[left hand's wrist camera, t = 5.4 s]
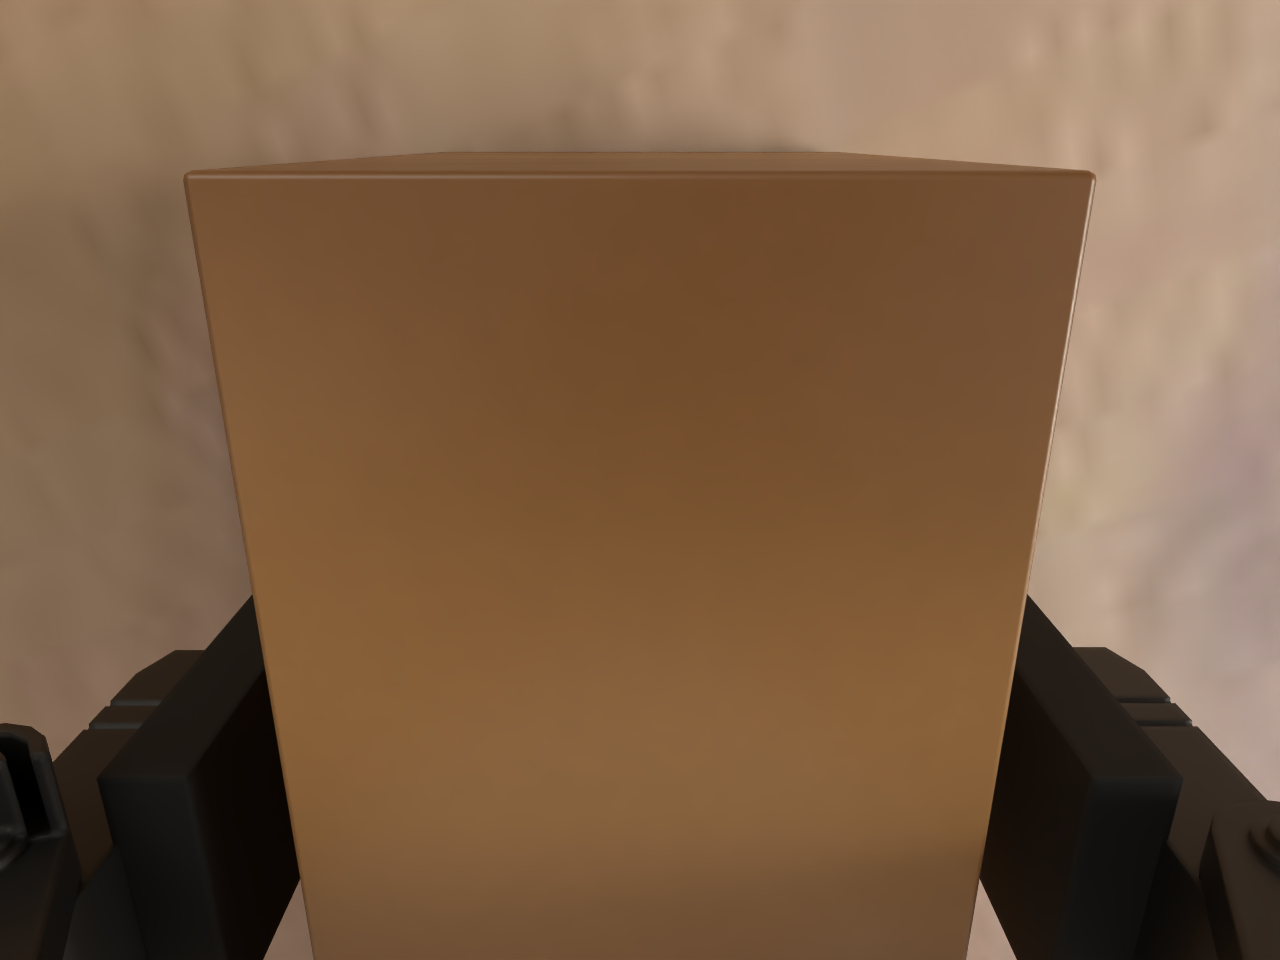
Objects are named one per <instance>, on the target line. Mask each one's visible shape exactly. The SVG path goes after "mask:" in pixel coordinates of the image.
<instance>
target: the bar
mask: <svg viewBox="0 0 1280 960" xmlns="http://www.w3.org/2000/svg"><path fill="white" fill-rule="evenodd" d="M1095 185H1096V176H1095V174H1094V173H1092V172H1090V171H1085V170H1071V169H1058V168H1044V167H1031V166H1017V165H1004V164H990V163H977V162H963V161H950V160H936V159H923V158H909V157H896V156H882V155H868V154H855V153H841V152H439V153H425V154H412V155H398V156H385V157H371V158H357V159H344V160H330V161H317V162H303V163H290V164H276V165H262V166H249V167H235V168H222V169H208V170H195V171H190V172H188V173H186V174H185V175H184V187H185V193H186V199H187V205H188V211H189V217H190V223H191V229H192V235H193V241H194V247H195V253H196V259H197V265H198V271H199V277H200V283H201V289H202V295H203V301H204V307H205V313H206V318H207V324H208V330H209V336H210V342H211V348H212V354H213V360H214V366H215V372H216V378H217V384H218V390H219V396H220V402H221V408H222V414H223V420H224V426H225V432H226V438H227V444H228V450H229V456H230V462H231V468H232V474H233V480H234V486H235V492H236V498H237V503H238V509H239V515H240V521H241V527H242V533H243V539H244V545H245V551H246V557H247V563H248V569H249V575H250V581H251V587H252V593H253V599H254V605H255V611H256V617H257V623H258V629H259V635H260V641H261V647H262V653H263V659H264V665H265V671H266V677H267V683H268V688H269V694H270V700H271V706H272V712H273V718H274V724H275V730H276V736H277V742H278V748H279V754H280V760H281V766H282V772H283V778H284V784H285V790H286V796H287V802H288V808H289V814H290V820H291V826H292V832H293V838H294V844H295V850H296V856H297V862H298V868H299V874H300V879H301V885H302V891H303V897H304V903H305V909H306V915H307V921H308V927H309V933H310V939H311V945H312V951H313V957H314V960H966V956H967V950H968V944H969V938H970V932H971V926H972V920H973V914H974V908H975V902H976V896H977V890H978V884H979V878H980V872H981V866H982V860H983V854H984V848H985V842H986V836H987V830H988V824H989V818H990V812H991V806H992V800H993V794H994V788H995V782H996V776H997V770H998V764H999V758H1000V753H1001V747H1002V741H1003V735H1004V729H1005V723H1006V717H1007V711H1008V705H1009V699H1010V693H1011V687H1012V681H1013V675H1014V669H1015V663H1016V657H1017V651H1018V645H1019V639H1020V633H1021V627H1022V621H1023V615H1024V609H1025V603H1026V597H1027V591H1028V585H1029V579H1030V573H1031V567H1032V561H1033V555H1034V549H1035V543H1036V537H1037V531H1038V526H1039V520H1040V514H1041V508H1042V502H1043V496H1044V490H1045V484H1046V478H1047V472H1048V466H1049V460H1050V454H1051V448H1052V442H1053V436H1054V430H1055V424H1056V418H1057V412H1058V406H1059V400H1060V394H1061V388H1062V382H1063V376H1064V370H1065V364H1066V358H1067V352H1068V346H1069V340H1070V334H1071V328H1072V322H1073V316H1074V310H1075V304H1076V299H1077V293H1078V287H1079V281H1080V275H1081V269H1082V263H1083V257H1084V251H1085V245H1086V239H1087V233H1088V227H1089V221H1090V215H1091V209H1092V203H1093V197H1094V191H1095Z"/></svg>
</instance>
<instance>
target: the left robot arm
mask: <svg viewBox="0 0 1280 960" xmlns="http://www.w3.org/2000/svg"><path fill="white" fill-rule="evenodd" d="M299 880H300V874H299V868H298V862H297V856H296V850H295V844H294V838H293V832H292V826H291V820H290V814H289V808H288V802H287V796H286V790H285V784H284V778H283V772H282V766H281V760H280V754H279V748H278V742H277V736H276V730H275V724H274V718H273V712H272V706H271V700H270V694H269V688H268V683H267V677H266V671H265V665H264V659H263V653H262V647H261V641H260V635H259V629H258V623H257V617H256V611H255V605H254V599H253V594H252V596H251V597H250V598H249V599H248V600H247V601H246V603H245V604H244V605H243V606H242V607H241V608H240V610H239V611H238V612H237V613H236V614H235V616H234V617H233V618H232V619H231V620H230V621H229V623H228V624H227V625H226V626H225V627H224V628H223V630H222V631H221V632H220V633H219V634H218V636H217V637H216V638H215V639H214V640H213V641H212V643H211V644H210V645H209V646H208V647H207V648H206V650H175V651H173V652H172V653H170V654H168V655H167V656H165V657H163V658H162V659H160V660H158V661H157V662H155V663H153V664H152V665H150V666H148V667H147V668H145V669H143V670H142V671H140V672H138V673H137V674H136V675H135V676H134V677H133V678H132V679H131V680H130V681H129V682H128V683H127V684H126V685H125V686H124V687H123V688H122V689H121V690H120V692H119V693H118V694H117V695H116V696H115V697H114V698H113V699H112V700H111V704H110V706H105V707H104V709H103V710H102V711H101V712H100V713H99V714H98V715H97V716H96V717H95V718H94V719H93V720H92V721H91V722H90V723H89V729H88V730H83V731H82V732H81V733H80V734H79V735H78V736H77V737H76V738H75V739H74V740H73V742H72V743H71V744H70V745H69V746H68V747H67V748H66V749H65V750H64V751H63V752H62V753H61V754H60V755H59V756H58V757H57V759H56V760H55V761H54V762H53V763H52V759H51V755H50V752H49V748H48V744H47V741H46V737H45V736H44V735H42V734H41V733H39V732H38V731H36V730H35V729H34V728H32V727H30V726H23V725H15V724H8V723H3V724H0V960H263V959H264V956H265V954H266V952H267V950H268V948H269V946H270V943H271V941H272V939H273V937H274V935H275V932H276V930H277V928H278V926H279V924H280V922H281V919H282V917H283V915H284V913H285V911H286V909H287V906H288V904H289V902H290V900H291V898H292V895H293V893H294V891H295V889H296V887H297V885H298V882H299ZM980 880H981V882H982V885H983V887H984V889H985V891H986V893H987V895H988V898H989V900H990V902H991V904H992V906H993V908H994V911H995V913H996V915H997V917H998V919H999V922H1000V924H1001V926H1002V928H1003V930H1004V932H1005V935H1006V937H1007V939H1008V941H1009V943H1010V946H1011V948H1012V950H1013V952H1014V954H1015V956H1016V959H1017V960H1280V802H1277V801H1269V800H1267V799H1266V798H1265V797H1264V796H1263V795H1262V794H1261V793H1260V792H1259V791H1258V790H1257V789H1256V788H1255V787H1254V786H1253V785H1252V784H1251V783H1250V782H1249V780H1248V779H1247V778H1246V777H1245V776H1244V775H1243V774H1242V773H1241V772H1240V771H1239V770H1238V769H1237V768H1236V767H1235V766H1234V765H1233V764H1232V763H1231V761H1230V760H1229V759H1228V758H1227V757H1226V756H1225V755H1224V754H1223V753H1222V752H1221V751H1220V750H1219V749H1218V748H1217V747H1216V746H1215V745H1214V744H1213V742H1212V741H1211V740H1210V739H1209V738H1208V737H1207V736H1206V735H1205V734H1204V733H1203V732H1202V731H1201V730H1200V729H1199V728H1198V727H1197V726H1192V720H1191V719H1190V718H1189V717H1188V716H1187V715H1186V714H1185V713H1184V712H1183V711H1182V710H1181V709H1180V708H1179V707H1178V706H1177V704H1176V703H1171V702H1170V697H1169V696H1168V695H1167V694H1166V693H1165V692H1164V691H1163V690H1162V689H1161V688H1160V687H1159V685H1158V684H1157V683H1156V682H1155V681H1154V680H1153V679H1152V678H1151V677H1150V676H1149V675H1148V674H1147V673H1146V672H1145V671H1144V670H1143V669H1141V668H1139V667H1138V666H1136V665H1134V664H1132V663H1131V662H1129V661H1127V660H1126V659H1124V658H1122V657H1121V656H1119V655H1117V654H1116V653H1114V652H1112V651H1111V650H1109V649H1107V648H1106V647H1072V646H1071V645H1070V644H1069V643H1068V641H1067V640H1066V639H1065V638H1064V637H1063V636H1062V634H1061V633H1060V632H1059V631H1058V630H1057V628H1056V627H1055V626H1054V625H1053V624H1052V623H1051V621H1050V620H1049V619H1048V618H1047V617H1046V616H1045V614H1044V613H1043V612H1042V611H1041V610H1040V608H1039V607H1038V606H1037V605H1036V604H1035V603H1034V601H1033V600H1032V599H1031V598H1030V597H1029V596H1028V594H1027V597H1026V603H1025V609H1024V615H1023V621H1022V627H1021V633H1020V639H1019V645H1018V651H1017V657H1016V663H1015V669H1014V675H1013V681H1012V687H1011V693H1010V699H1009V705H1008V711H1007V717H1006V723H1005V729H1004V735H1003V741H1002V747H1001V753H1000V758H999V764H998V770H997V776H996V782H995V788H994V794H993V800H992V806H991V812H990V818H989V824H988V830H987V836H986V842H985V848H984V854H983V860H982V866H981V872H980Z"/></svg>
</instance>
